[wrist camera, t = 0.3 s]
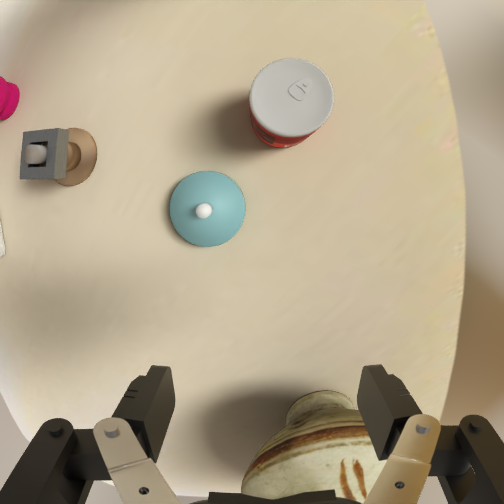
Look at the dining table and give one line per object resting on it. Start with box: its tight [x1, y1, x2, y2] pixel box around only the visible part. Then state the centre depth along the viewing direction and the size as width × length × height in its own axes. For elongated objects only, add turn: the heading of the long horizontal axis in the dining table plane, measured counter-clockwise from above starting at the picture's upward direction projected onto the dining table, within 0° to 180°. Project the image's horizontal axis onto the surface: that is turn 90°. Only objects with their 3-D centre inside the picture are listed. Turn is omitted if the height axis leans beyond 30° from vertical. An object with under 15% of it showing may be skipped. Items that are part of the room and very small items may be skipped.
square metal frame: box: [20, 128, 69, 179], centre depth 31 cm, size 6×6×2 cm
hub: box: [170, 171, 245, 247], centre depth 37 cm, size 9×9×4 cm
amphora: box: [241, 391, 387, 504], centre depth 32 cm, size 24×24×30 cm
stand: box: [24, 128, 97, 186], centre depth 33 cm, size 8×8×10 cm
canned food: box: [249, 58, 334, 148], centre depth 32 cm, size 8×8×11 cm
